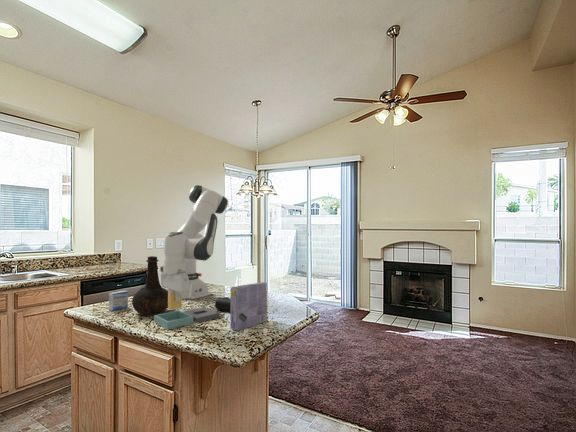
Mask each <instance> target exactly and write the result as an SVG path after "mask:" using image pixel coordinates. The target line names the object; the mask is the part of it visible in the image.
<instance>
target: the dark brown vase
mask: <svg viewBox="0 0 576 432" xmlns="http://www.w3.org/2000/svg"><path fill="white" fill-rule="evenodd" d="M146 258H147V260H145V262H147V271H146V272H147V273H146V279H145V280H146V281H145V286H144V287H142V288H140V289H139V290H137V291H136V292H135V294H133V296H132V299H131V304H132V308H133V309H134V310H135V311H136V313H138V314H140V315H141V316H154V315H159V314H163V312H165V311H166V310H167V309H168V289H167V288H164V287H162V285H161V281H160V279H159V270H158V262H159V261H160V260H159V259H158V256H155V255H151V256H147V257H146Z"/></svg>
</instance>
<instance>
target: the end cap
mask: <svg viewBox="0 0 576 432" xmlns="http://www.w3.org/2000/svg"><path fill="white" fill-rule="evenodd" d="M214 306H215V307H214V308H215V309H216V310H217V311H220V312H221V311H222V312H229V313H231V298H230V297H228V296H224V297H217V298H216V300H215V303H214Z"/></svg>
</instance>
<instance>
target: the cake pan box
mask: <svg viewBox="0 0 576 432" xmlns="http://www.w3.org/2000/svg"><path fill="white" fill-rule="evenodd" d="M267 285H268V283H267V282H264V281H260V282H255V283H248V284H243V285H236V286H231V287H230V299H231V312H230V330H234V331H236V332H239V331H242V330H245V329H247V328H251V327H254V326H257V325H259V324H263V323H265V322H266V323H267V321H268V314H267V313H268V305H267V304H268V301H267V300H268V299H267V298H268V295H267V293H268V290H267V289H268V288H267V287H268V286H267Z"/></svg>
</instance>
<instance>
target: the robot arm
mask: <svg viewBox="0 0 576 432" xmlns="http://www.w3.org/2000/svg"><path fill="white" fill-rule="evenodd" d="M188 194H189V195H188V199H189V201H190V202H191V203H193V204H194V206H193V208H192V210H191V211H190V214H189V215H188V218H187V219H186V221H185V222H184V223H183V225H181V226H180V228H179V229H177V231H174V232H173V231H172V232H169V233H167V234H166V235H165V239H164V247H163V248H164V249H163V251H164V252H163V253H164V256H165V257H164V260H163V265H162V266H159V267H160V268H159V272H161V273H160V285H161V287H162V288H164V289H166V290H174V291H175V293H176V295H175V297H174V300H175V301H179V300H180V295H181V293H182V298H181V300H186V299H187V300H188V299H190V300H195V299H198V298H199V299H200V298H202V297H203V298H204V297H207V296H211V295H213V292H212V291H211V290H209V285H208V284H207V283H206V282H205V281H203V280H202V279H201V278H199V277H202V276H203V274H202V273H200V272H197V261H208V260H209V259H210V258H211V257H212V255H213V254H214V246H215V245H214V243H215V239H216V238H215V237H216V234H217V228H218V216H217V215H216V214H219V215H220V214H223V213H224V212H225V211H226V210H227V209H228V203H229V200H228V198H226V197H225V196H223V195H221V194H220V193H218V192H216V191H214V190H212V189H209V188H207V187H204V186H202V185H199V184H197V185H194V186H193V187H192V188H190V190H189V193H188ZM203 230H204V233H203V234H202V233H200V232H203Z"/></svg>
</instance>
